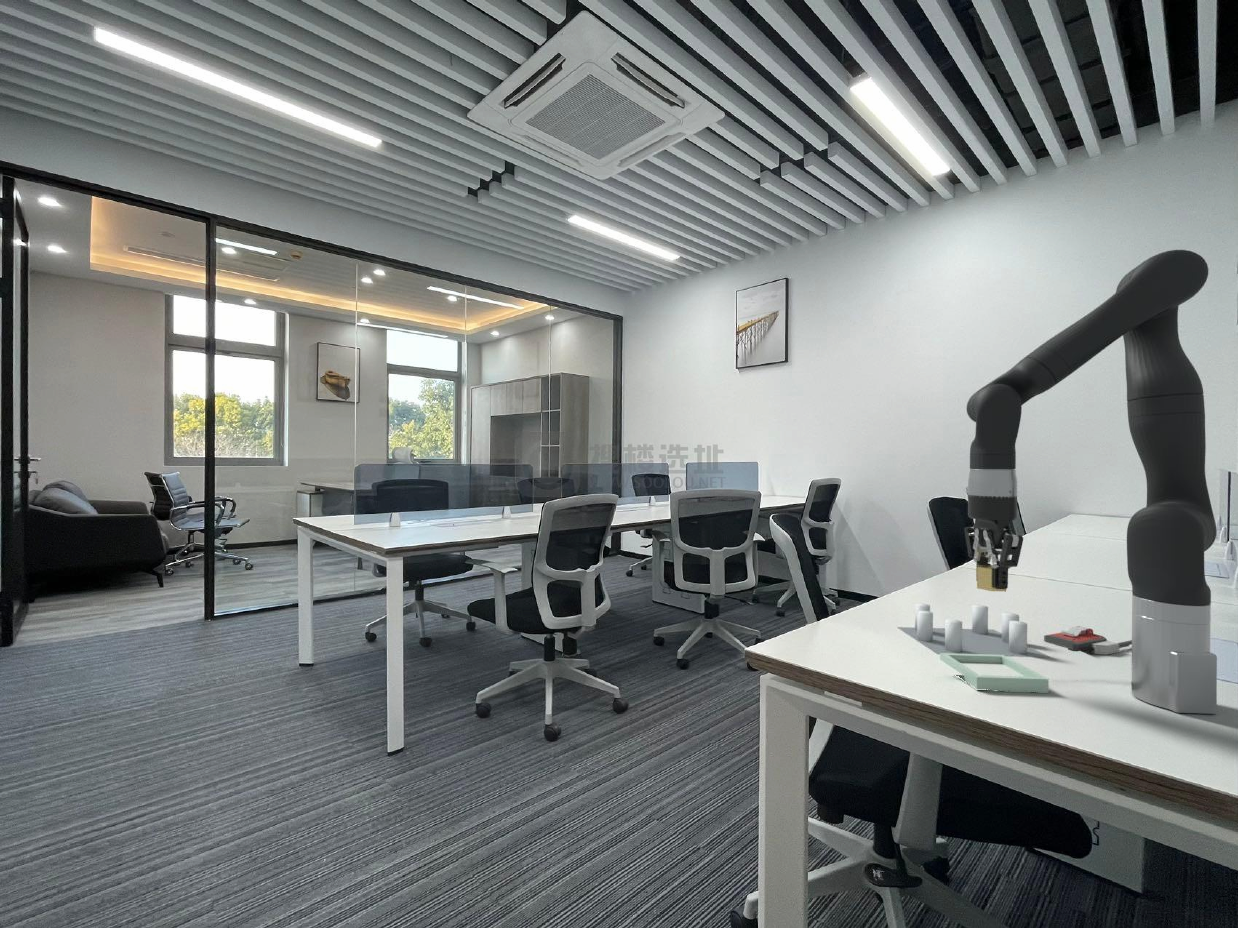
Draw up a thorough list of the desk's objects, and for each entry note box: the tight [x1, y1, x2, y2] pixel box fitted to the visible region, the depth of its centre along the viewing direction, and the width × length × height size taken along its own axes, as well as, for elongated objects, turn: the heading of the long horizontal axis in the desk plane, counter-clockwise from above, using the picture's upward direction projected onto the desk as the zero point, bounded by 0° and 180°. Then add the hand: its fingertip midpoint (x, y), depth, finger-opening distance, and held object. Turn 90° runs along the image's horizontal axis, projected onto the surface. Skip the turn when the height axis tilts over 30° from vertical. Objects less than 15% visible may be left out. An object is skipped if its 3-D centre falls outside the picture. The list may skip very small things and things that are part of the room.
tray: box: [939, 653, 1050, 694], centre depth 100 cm, size 12×12×2 cm
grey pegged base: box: [896, 602, 1050, 658], centre depth 117 cm, size 18×22×7 cm
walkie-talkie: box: [1043, 625, 1132, 656], centre depth 117 cm, size 9×4×20 cm
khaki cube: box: [976, 564, 1007, 592], centre depth 100 cm, size 4×5×4 cm
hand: (991, 585), depth 100 cm, fingers closed on khaki cube, 4 cm apart
